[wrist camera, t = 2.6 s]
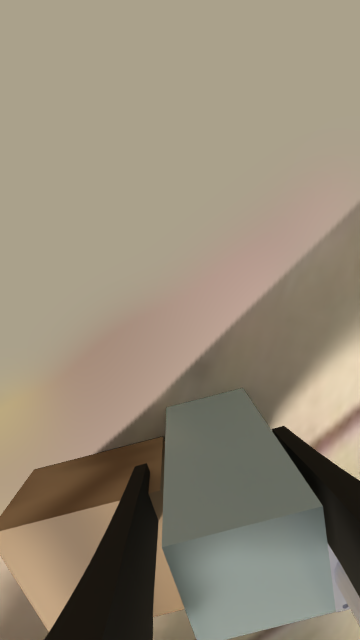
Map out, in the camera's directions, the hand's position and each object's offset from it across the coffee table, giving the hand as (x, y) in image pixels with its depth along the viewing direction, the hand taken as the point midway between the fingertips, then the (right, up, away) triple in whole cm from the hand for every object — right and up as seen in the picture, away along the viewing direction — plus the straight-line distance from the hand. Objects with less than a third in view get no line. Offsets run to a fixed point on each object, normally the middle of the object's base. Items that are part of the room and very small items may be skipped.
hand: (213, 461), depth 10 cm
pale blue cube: (0, 0, +2) cm, 2 cm away
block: (-6, -5, +3) cm, 8 cm away
